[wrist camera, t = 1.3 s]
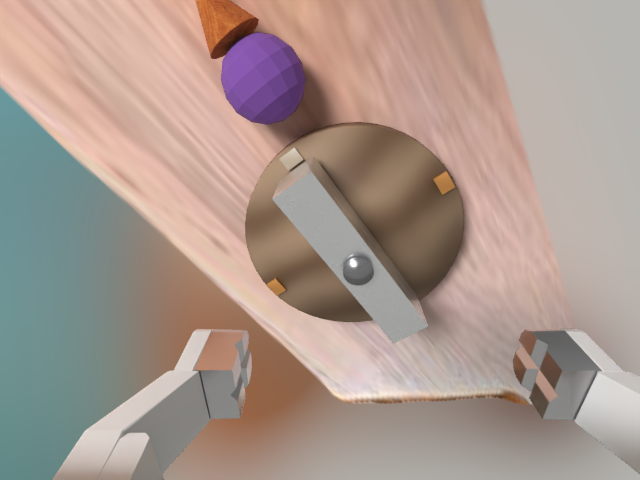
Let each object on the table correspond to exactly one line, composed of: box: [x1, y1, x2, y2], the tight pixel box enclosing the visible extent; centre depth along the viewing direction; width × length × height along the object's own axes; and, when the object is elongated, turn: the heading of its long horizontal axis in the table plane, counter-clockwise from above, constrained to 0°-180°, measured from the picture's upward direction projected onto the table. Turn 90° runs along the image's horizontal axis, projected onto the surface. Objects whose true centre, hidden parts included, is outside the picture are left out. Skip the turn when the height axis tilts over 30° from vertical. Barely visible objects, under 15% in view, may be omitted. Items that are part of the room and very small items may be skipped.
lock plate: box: [245, 122, 464, 322], centre depth 33 cm, size 20×20×3 cm
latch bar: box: [272, 155, 428, 343], centre depth 29 cm, size 17×4×5 cm, turn 36°
